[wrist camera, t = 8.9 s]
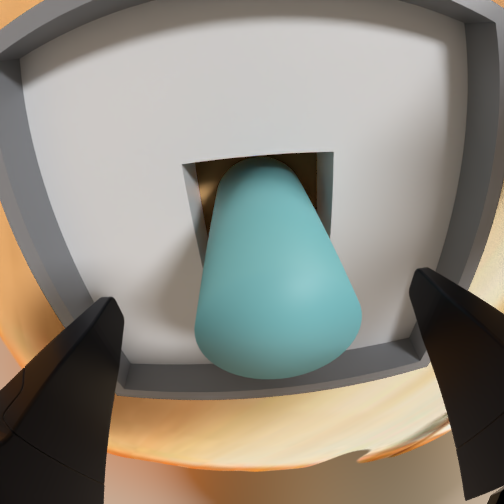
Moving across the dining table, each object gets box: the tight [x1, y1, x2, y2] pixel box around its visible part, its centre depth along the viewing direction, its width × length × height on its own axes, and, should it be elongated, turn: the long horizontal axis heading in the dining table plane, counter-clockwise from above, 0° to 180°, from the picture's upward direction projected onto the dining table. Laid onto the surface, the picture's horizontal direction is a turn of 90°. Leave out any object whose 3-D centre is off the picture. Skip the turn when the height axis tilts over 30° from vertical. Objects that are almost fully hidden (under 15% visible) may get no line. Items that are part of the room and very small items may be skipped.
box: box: [0, 0, 504, 400], centre depth 11 cm, size 20×20×4 cm
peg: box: [194, 157, 362, 379], centre depth 10 cm, size 4×4×8 cm
